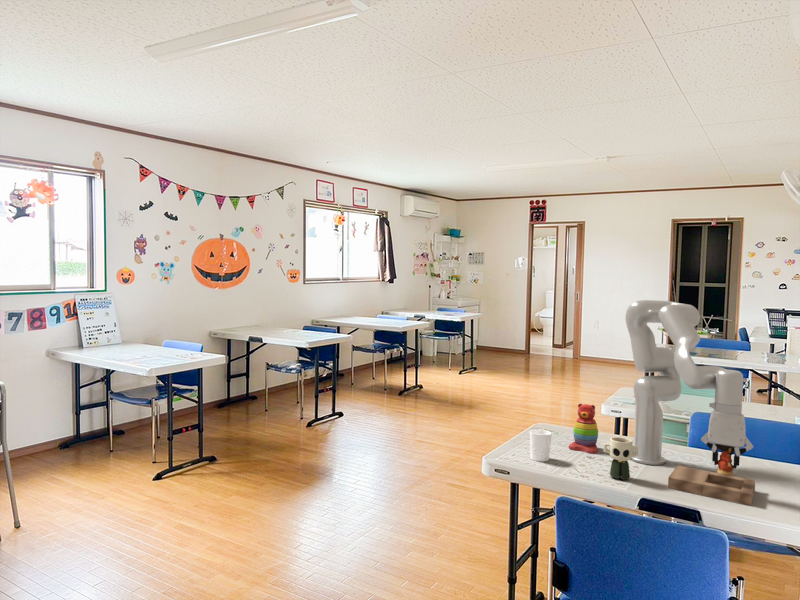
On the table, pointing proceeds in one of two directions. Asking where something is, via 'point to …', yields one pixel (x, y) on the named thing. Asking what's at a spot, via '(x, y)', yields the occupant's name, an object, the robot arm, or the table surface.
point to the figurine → (725, 460)
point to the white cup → (540, 445)
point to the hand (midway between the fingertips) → (725, 465)
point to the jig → (712, 485)
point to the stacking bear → (585, 430)
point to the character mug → (620, 456)
